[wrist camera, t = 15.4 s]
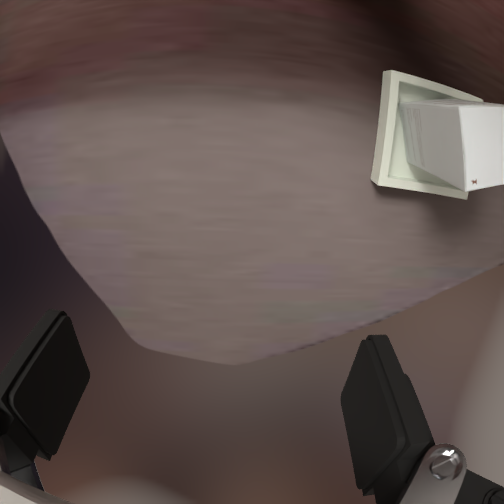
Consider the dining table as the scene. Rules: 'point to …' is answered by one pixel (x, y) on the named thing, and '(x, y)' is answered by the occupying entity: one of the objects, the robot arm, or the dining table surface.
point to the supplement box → (456, 140)
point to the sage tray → (392, 139)
